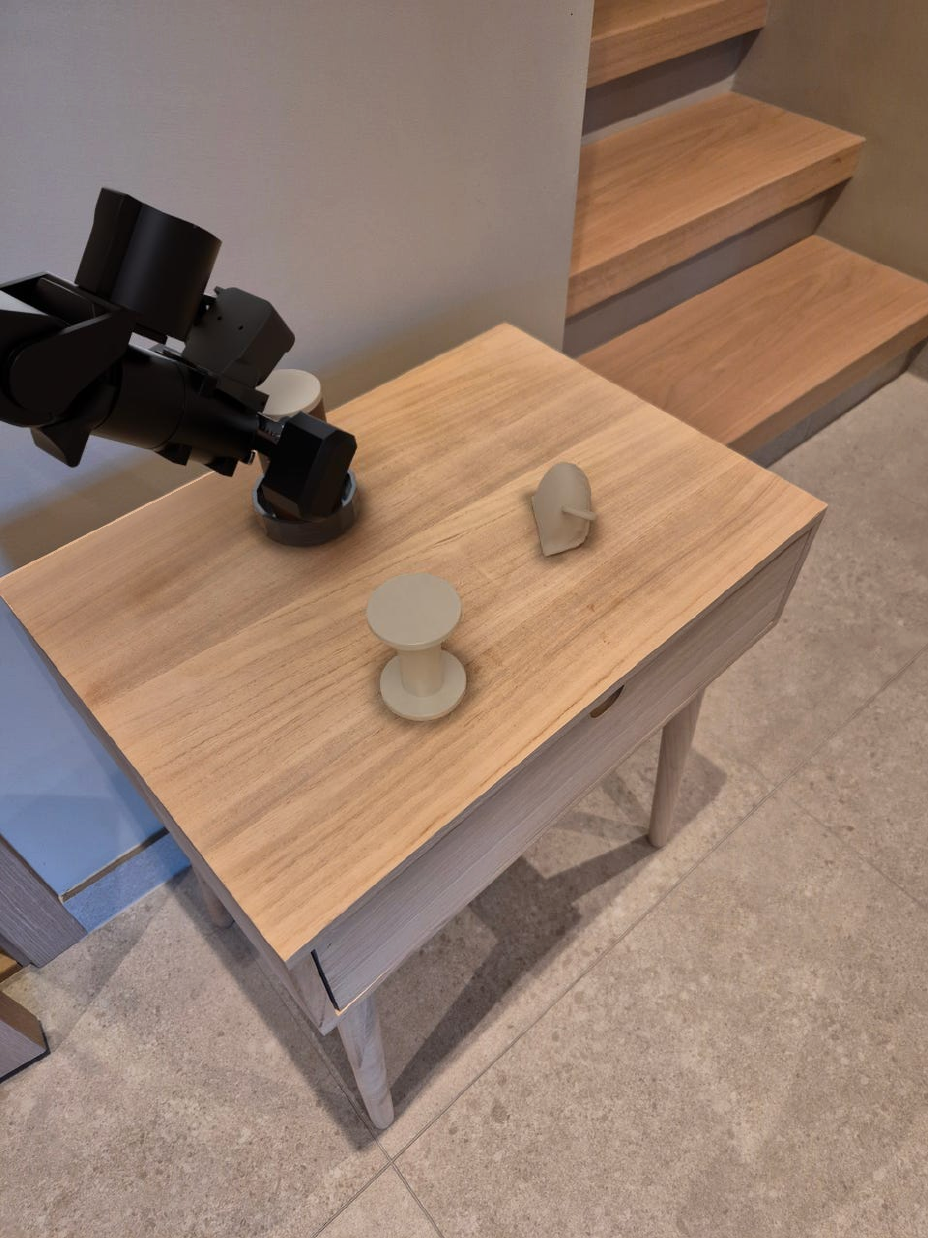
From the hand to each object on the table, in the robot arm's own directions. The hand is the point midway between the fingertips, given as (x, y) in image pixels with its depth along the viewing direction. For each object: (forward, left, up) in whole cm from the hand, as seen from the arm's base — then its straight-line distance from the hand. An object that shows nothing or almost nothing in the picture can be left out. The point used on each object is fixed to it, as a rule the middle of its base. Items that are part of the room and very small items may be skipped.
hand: (310, 452), depth 65 cm
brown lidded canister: (-1, 0, -5) cm, 5 cm away
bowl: (-1, 0, -5) cm, 5 cm away
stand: (-11, -18, -5) cm, 21 cm away
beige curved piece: (+7, -18, -5) cm, 20 cm away
